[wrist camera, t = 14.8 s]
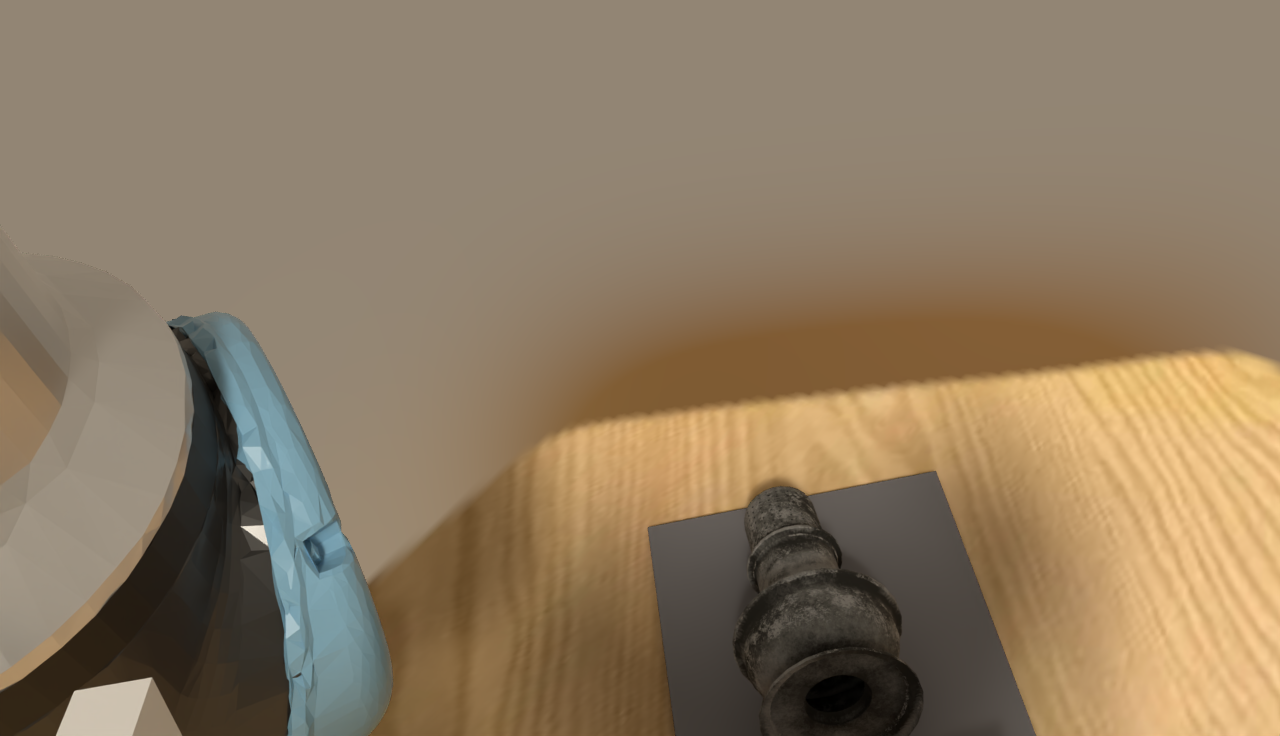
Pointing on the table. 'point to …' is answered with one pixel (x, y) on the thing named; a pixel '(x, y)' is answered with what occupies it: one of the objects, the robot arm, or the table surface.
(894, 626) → the salt shaker
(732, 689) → the mat
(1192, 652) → the table surface
